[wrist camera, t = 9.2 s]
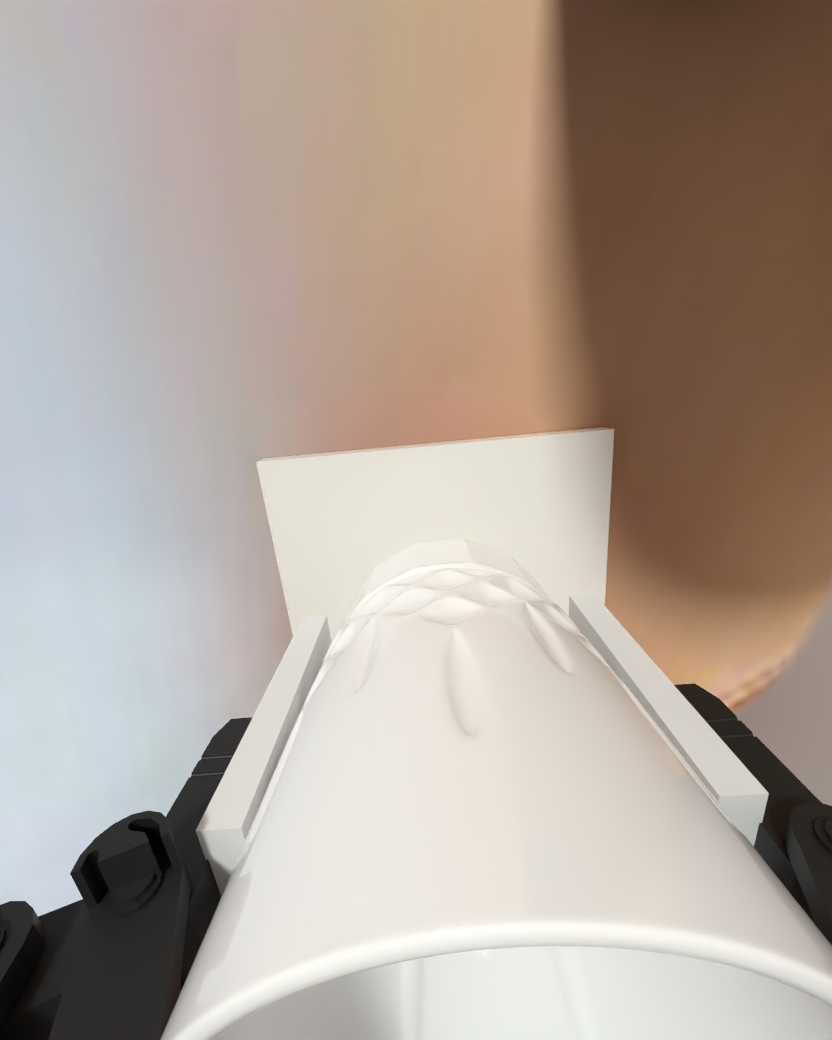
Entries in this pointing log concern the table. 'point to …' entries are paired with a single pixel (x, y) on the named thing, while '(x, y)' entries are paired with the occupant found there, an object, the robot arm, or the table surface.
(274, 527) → the tile
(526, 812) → the white cup
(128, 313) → the table surface
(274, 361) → the table surface
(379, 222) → the table surface
